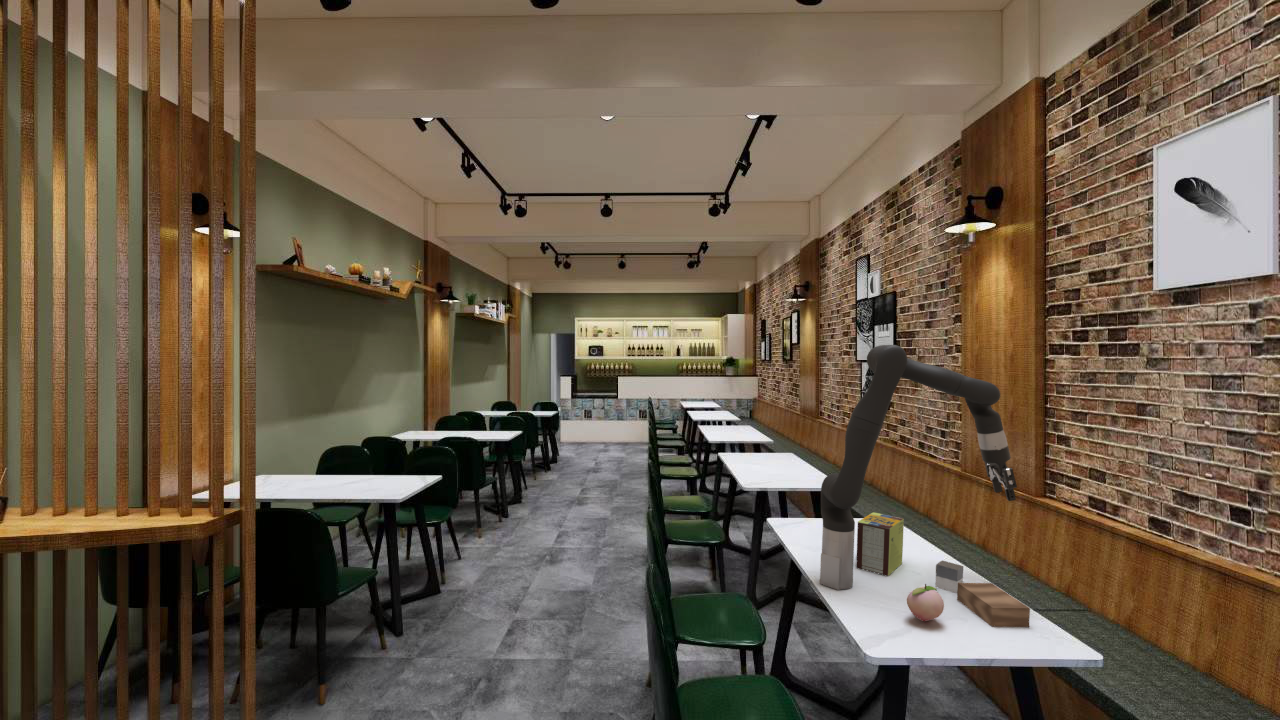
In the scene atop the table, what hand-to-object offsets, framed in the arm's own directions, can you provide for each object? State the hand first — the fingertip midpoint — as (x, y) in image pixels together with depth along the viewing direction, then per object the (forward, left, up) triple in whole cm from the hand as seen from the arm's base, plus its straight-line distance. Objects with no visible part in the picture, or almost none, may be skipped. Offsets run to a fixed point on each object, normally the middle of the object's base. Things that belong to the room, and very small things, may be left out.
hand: (1005, 496), depth 180 cm
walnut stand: (-24, -4, -28) cm, 37 cm away
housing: (-15, +10, -28) cm, 33 cm away
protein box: (-14, +32, -28) cm, 45 cm away
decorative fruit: (-44, +6, -28) cm, 52 cm away
